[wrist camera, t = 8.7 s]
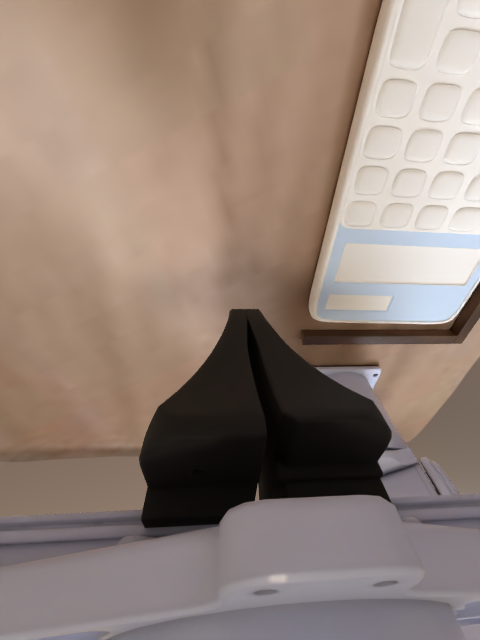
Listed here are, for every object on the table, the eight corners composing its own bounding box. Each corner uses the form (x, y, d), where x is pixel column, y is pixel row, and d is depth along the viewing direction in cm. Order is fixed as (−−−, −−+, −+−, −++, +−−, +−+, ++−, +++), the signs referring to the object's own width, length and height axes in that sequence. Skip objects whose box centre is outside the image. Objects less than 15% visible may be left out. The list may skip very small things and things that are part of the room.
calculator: (639, -12, 13) (696, -33, 11) (440, 316, 24) (455, 328, 23) (389, -46, 12) (414, -74, 10) (303, 313, 23) (309, 325, 22)
